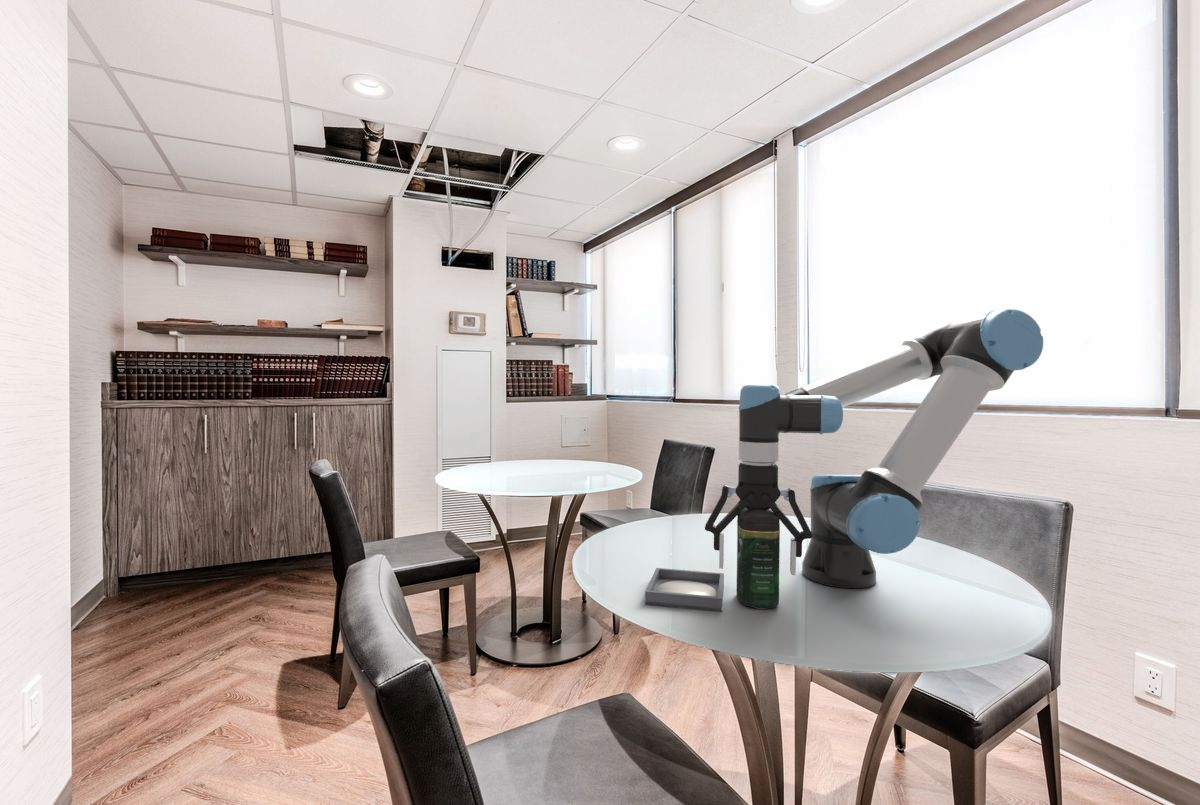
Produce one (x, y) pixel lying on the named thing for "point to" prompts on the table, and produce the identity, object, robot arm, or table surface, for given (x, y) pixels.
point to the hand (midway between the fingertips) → (756, 569)
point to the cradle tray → (686, 589)
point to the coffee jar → (758, 558)
